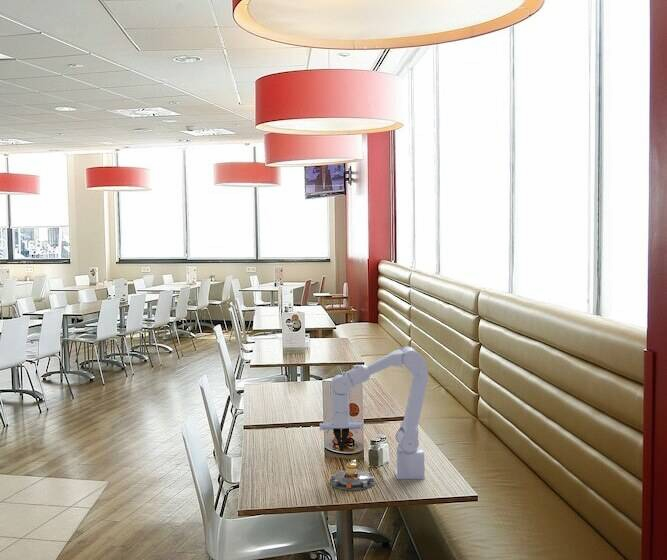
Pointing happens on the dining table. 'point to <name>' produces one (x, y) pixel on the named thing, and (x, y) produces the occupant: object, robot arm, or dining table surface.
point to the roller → (351, 470)
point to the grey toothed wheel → (360, 479)
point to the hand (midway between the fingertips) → (341, 450)
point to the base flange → (353, 487)
